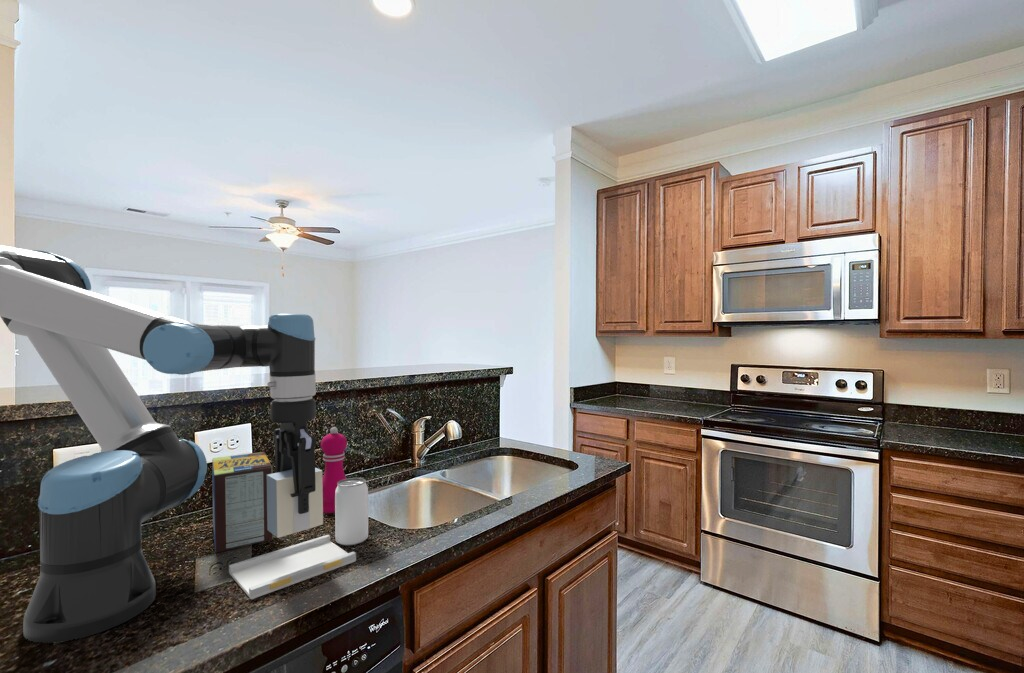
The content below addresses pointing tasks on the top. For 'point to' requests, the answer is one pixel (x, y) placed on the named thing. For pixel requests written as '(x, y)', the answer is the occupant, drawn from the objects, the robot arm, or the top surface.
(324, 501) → the pepper mill
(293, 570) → the white tray
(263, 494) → the protein box
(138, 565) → the robot arm
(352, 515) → the can
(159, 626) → the top surface
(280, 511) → the tea box
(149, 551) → the top surface
